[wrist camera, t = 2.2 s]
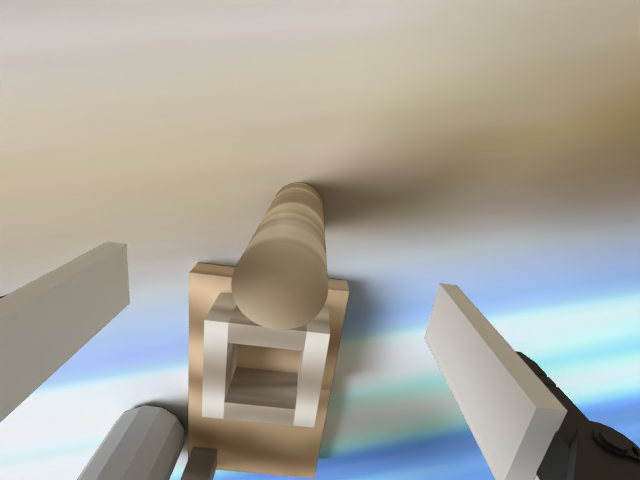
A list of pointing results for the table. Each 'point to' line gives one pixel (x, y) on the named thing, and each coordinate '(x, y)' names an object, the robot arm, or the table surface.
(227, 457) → the socket station
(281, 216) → the peg
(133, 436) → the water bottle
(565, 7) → the table surface
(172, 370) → the table surface
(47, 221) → the table surface
